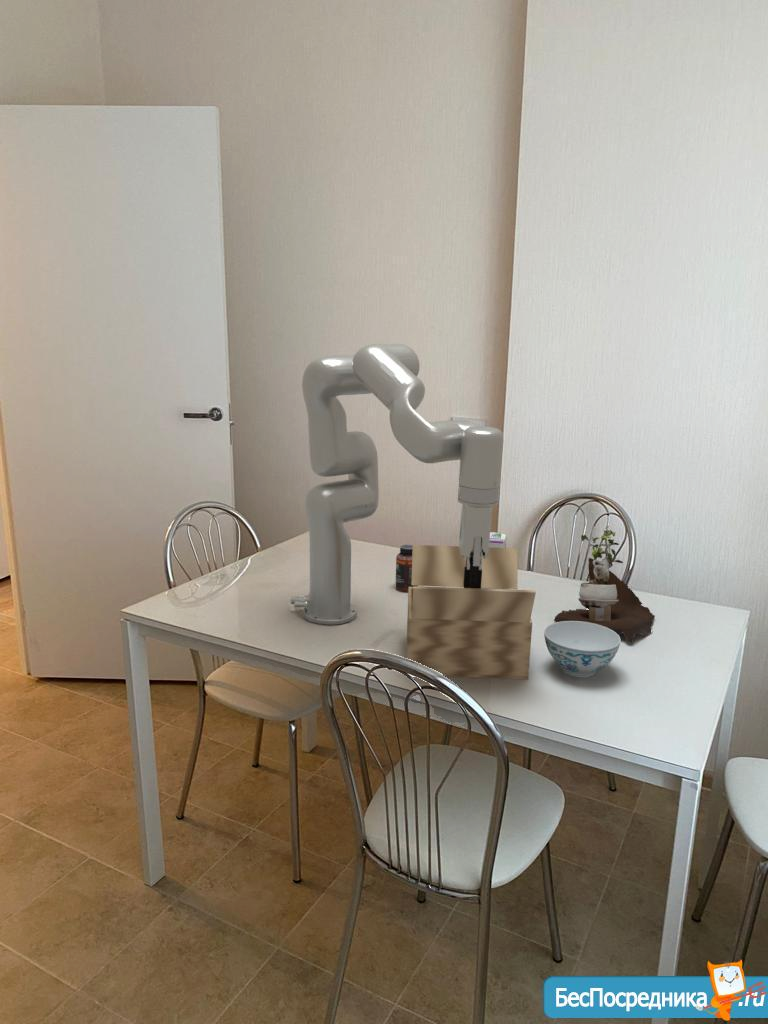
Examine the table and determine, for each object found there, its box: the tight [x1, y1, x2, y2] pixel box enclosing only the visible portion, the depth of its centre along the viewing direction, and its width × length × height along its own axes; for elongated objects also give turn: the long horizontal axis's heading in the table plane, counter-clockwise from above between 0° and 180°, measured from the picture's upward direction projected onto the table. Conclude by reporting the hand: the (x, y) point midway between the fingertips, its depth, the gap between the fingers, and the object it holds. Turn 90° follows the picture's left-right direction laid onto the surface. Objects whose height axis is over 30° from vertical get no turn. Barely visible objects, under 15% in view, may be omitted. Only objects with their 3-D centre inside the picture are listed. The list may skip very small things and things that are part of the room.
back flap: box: [411, 544, 519, 590], centre depth 179 cm, size 23×9×1 cm
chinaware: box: [543, 621, 622, 678], centre depth 167 cm, size 15×15×8 cm
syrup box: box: [481, 531, 507, 589], centre depth 212 cm, size 6×6×14 cm
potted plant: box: [553, 528, 656, 644], centre depth 193 cm, size 20×19×25 cm
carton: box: [406, 587, 533, 680], centre depth 171 cm, size 24×18×12 cm
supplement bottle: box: [395, 544, 414, 593], centre depth 211 cm, size 6×6×11 cm
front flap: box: [412, 586, 537, 623], centre depth 157 cm, size 23×9×1 cm
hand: (471, 587), depth 157 cm, fingers closed
